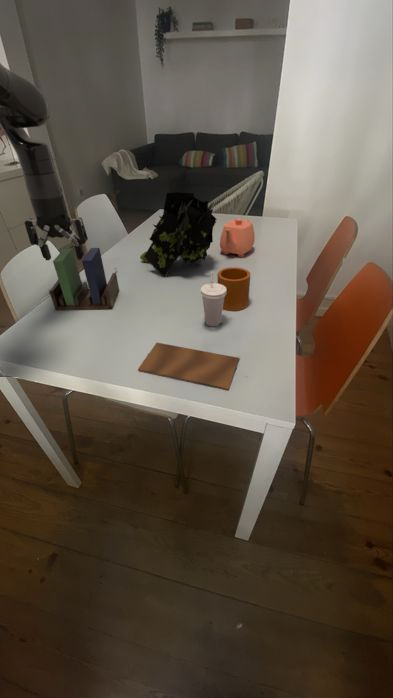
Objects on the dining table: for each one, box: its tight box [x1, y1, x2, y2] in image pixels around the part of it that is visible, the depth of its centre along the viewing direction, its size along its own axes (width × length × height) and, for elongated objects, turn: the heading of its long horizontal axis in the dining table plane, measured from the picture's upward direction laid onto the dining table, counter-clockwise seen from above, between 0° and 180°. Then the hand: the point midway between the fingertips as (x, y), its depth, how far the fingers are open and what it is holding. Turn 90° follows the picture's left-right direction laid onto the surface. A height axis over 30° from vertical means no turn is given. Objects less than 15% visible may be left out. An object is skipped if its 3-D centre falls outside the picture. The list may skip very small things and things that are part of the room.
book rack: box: [48, 272, 120, 311], centre depth 92 cm, size 16×11×6 cm
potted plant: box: [139, 191, 218, 278], centre depth 104 cm, size 21×22×30 cm
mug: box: [217, 266, 251, 312], centre depth 89 cm, size 9×12×9 cm
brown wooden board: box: [137, 342, 240, 391], centre depth 69 cm, size 20×10×1 cm, turn 72°
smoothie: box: [200, 271, 227, 327], centre depth 79 cm, size 6×6×14 cm
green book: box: [52, 247, 83, 305], centre depth 89 cm, size 2×9×13 cm, turn 0°
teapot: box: [219, 217, 256, 258], centre depth 117 cm, size 20×12×12 cm, turn 152°
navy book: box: [81, 247, 108, 305], centre depth 89 cm, size 2×9×13 cm, turn 1°
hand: (64, 259), depth 86 cm, fingers open, 8 cm apart
